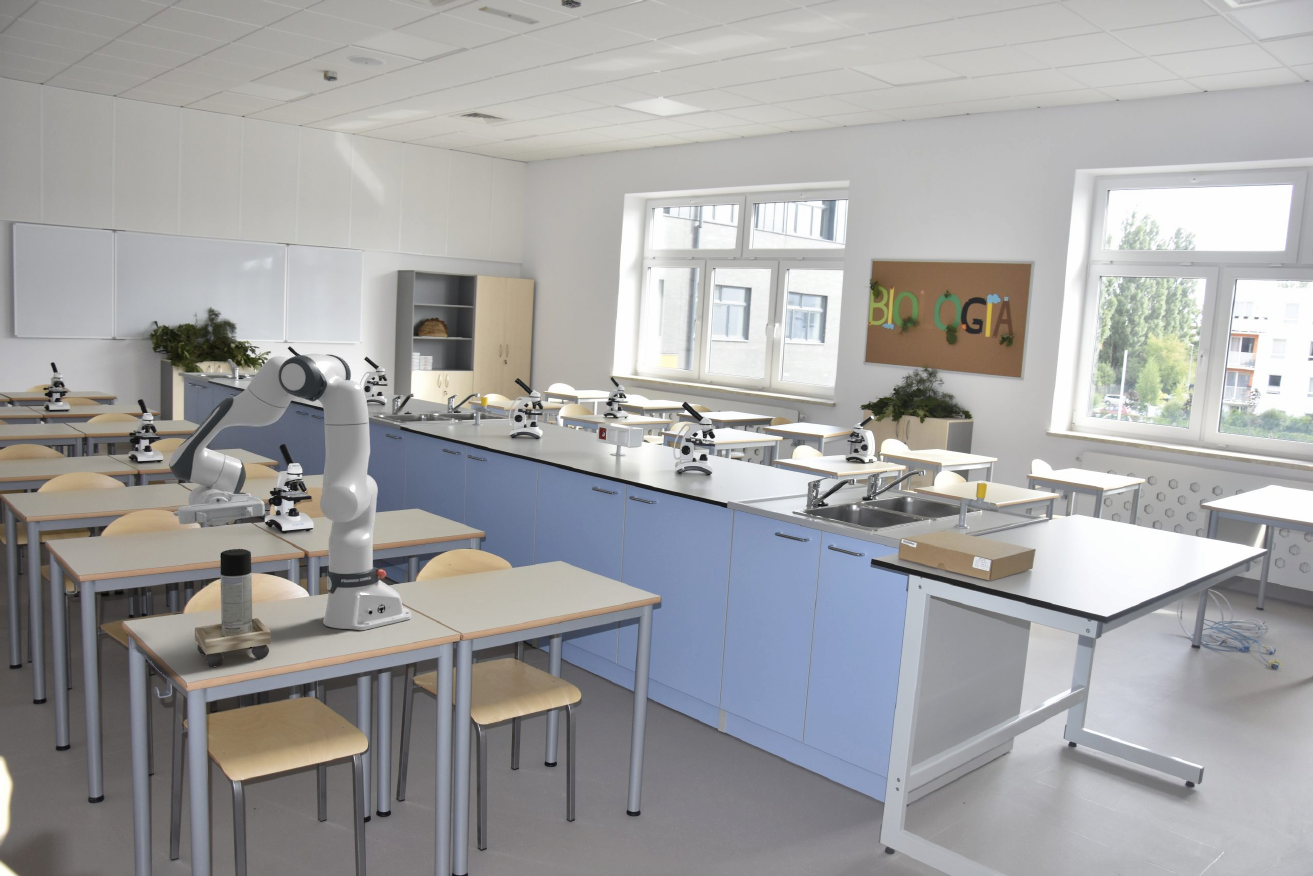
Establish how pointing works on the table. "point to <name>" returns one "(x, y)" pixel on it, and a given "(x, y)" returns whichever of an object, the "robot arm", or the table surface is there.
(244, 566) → the spray can
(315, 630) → the table surface
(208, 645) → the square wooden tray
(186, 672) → the table surface
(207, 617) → the table surface
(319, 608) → the table surface
